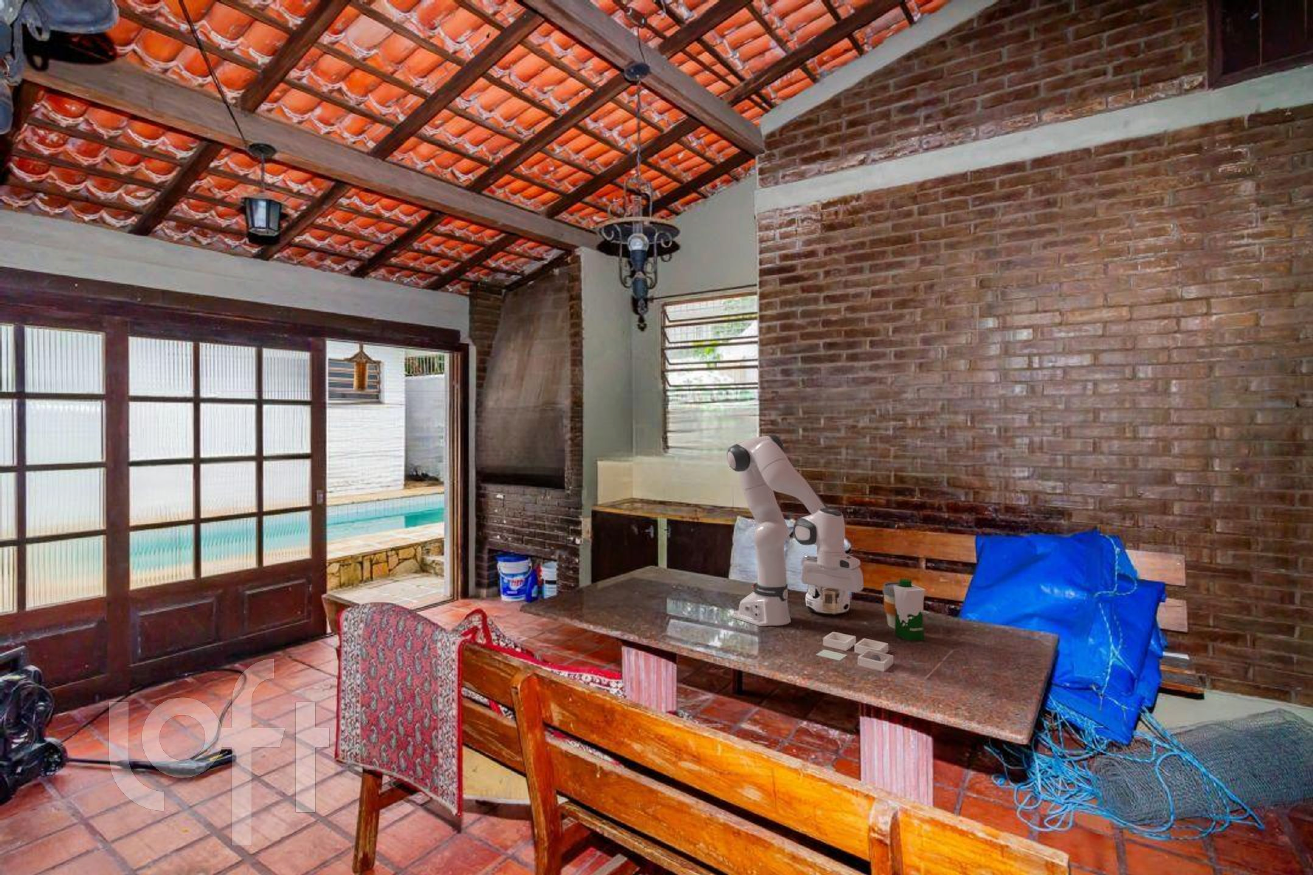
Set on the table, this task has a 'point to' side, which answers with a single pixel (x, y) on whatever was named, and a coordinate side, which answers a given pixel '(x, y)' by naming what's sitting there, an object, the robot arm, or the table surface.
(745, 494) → the robot arm
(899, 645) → the table surface
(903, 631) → the milk carton
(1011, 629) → the table surface
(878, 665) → the white square open box
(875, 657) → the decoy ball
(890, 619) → the reusable coffee cup
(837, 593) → the tan tall block
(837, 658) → the pad
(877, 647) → the white square cubby
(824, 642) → the white open square tray
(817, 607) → the milk container
